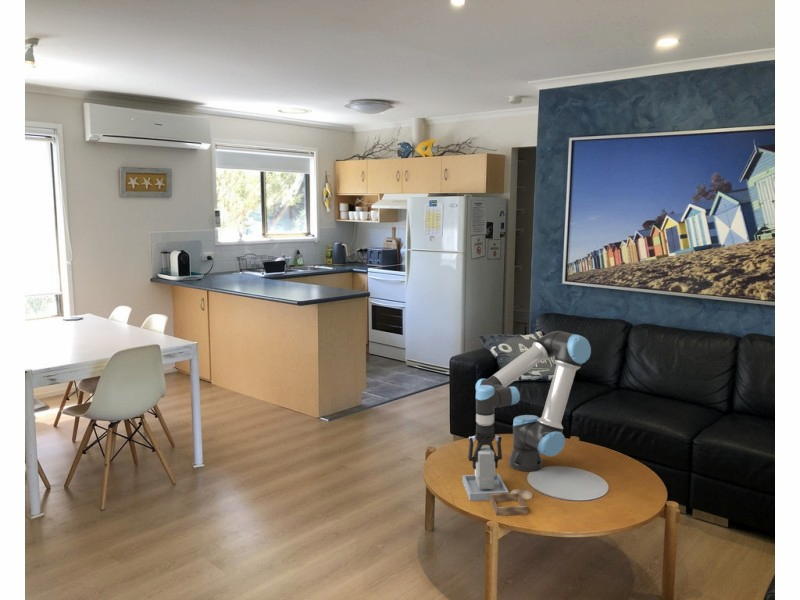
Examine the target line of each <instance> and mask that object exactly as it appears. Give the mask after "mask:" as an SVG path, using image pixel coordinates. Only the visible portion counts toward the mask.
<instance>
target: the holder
mask: <svg viewBox="0 0 800 600" xmlns="http://www.w3.org/2000/svg"><path fill="white" fill-rule="evenodd" d="M516 501H517V502H518V504H519V505H516V506H514V505H513V506H498V504H497V503H498V502H516ZM489 503H490V504H491V507H492V509H493V511H494V513H495V515H496V516H512V515H513V516H514V515H515V516H516V515H528V505H527V503H526V502H525V500H523V498H522V496H521V495H520V493H510V492H509V493H502V494H490V500H489Z"/></svg>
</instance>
